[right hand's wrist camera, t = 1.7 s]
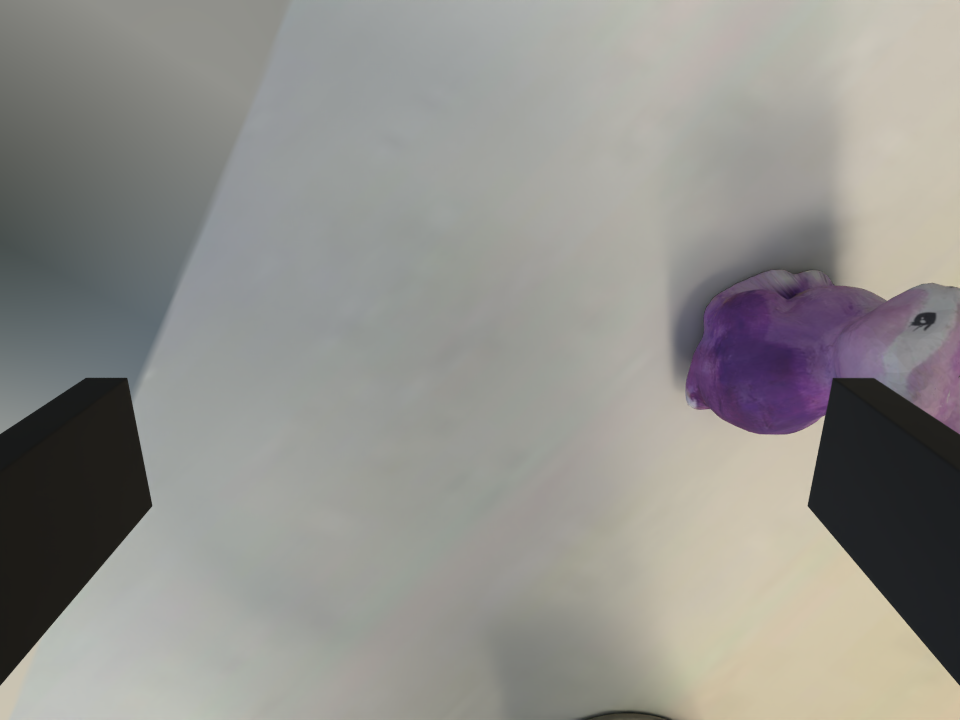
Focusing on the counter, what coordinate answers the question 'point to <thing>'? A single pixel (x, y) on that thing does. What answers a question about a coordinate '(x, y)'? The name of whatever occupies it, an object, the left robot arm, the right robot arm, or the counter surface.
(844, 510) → the right robot arm
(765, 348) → the figurine
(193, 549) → the counter surface
